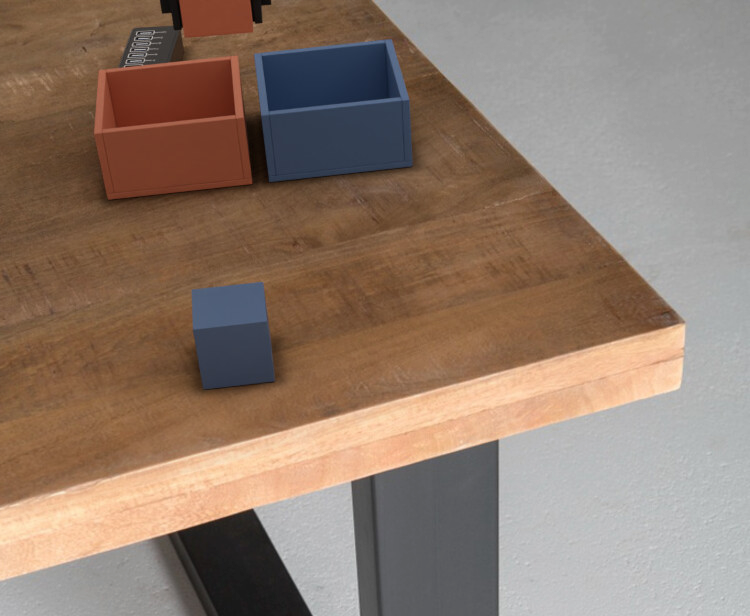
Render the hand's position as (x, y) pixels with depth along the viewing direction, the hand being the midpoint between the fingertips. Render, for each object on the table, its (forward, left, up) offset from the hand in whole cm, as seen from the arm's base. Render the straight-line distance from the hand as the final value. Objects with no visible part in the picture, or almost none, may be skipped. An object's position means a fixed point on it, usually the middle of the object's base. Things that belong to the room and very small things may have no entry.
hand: (218, 16), depth 95 cm
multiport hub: (-7, +24, -15) cm, 30 cm away
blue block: (-1, -19, -15) cm, 24 cm away
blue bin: (+8, +10, -15) cm, 20 cm away
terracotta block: (0, 0, 0) cm, 0 cm away
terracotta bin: (-5, +10, -15) cm, 19 cm away
